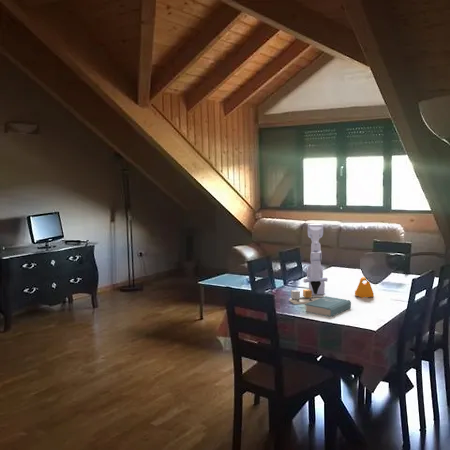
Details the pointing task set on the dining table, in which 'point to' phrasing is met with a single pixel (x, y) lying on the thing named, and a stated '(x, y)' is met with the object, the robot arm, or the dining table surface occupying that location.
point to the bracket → (364, 289)
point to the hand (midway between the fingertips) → (315, 293)
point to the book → (328, 306)
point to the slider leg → (307, 293)
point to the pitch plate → (301, 298)
